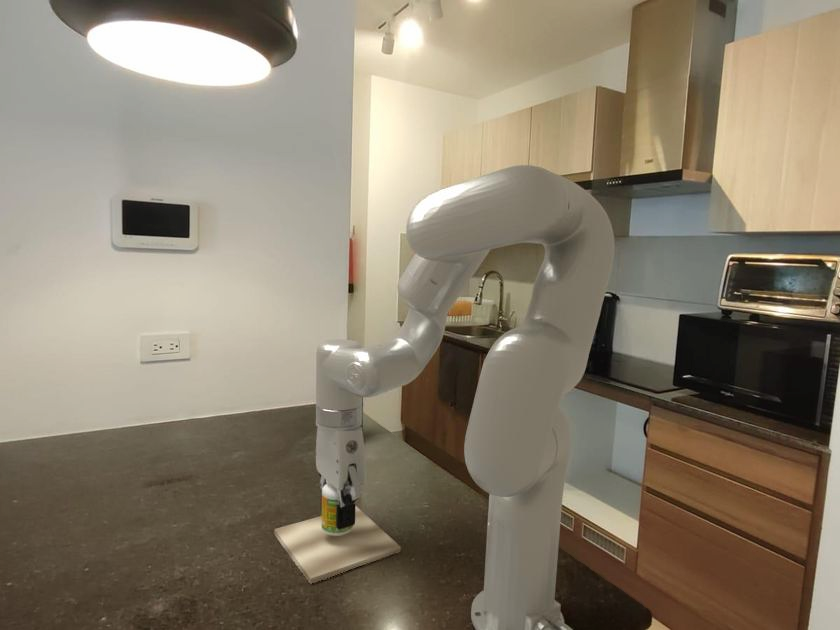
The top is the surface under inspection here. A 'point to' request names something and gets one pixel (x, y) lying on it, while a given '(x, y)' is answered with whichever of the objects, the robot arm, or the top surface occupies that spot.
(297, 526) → the birch board
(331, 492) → the supplement bottle
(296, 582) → the top surface
